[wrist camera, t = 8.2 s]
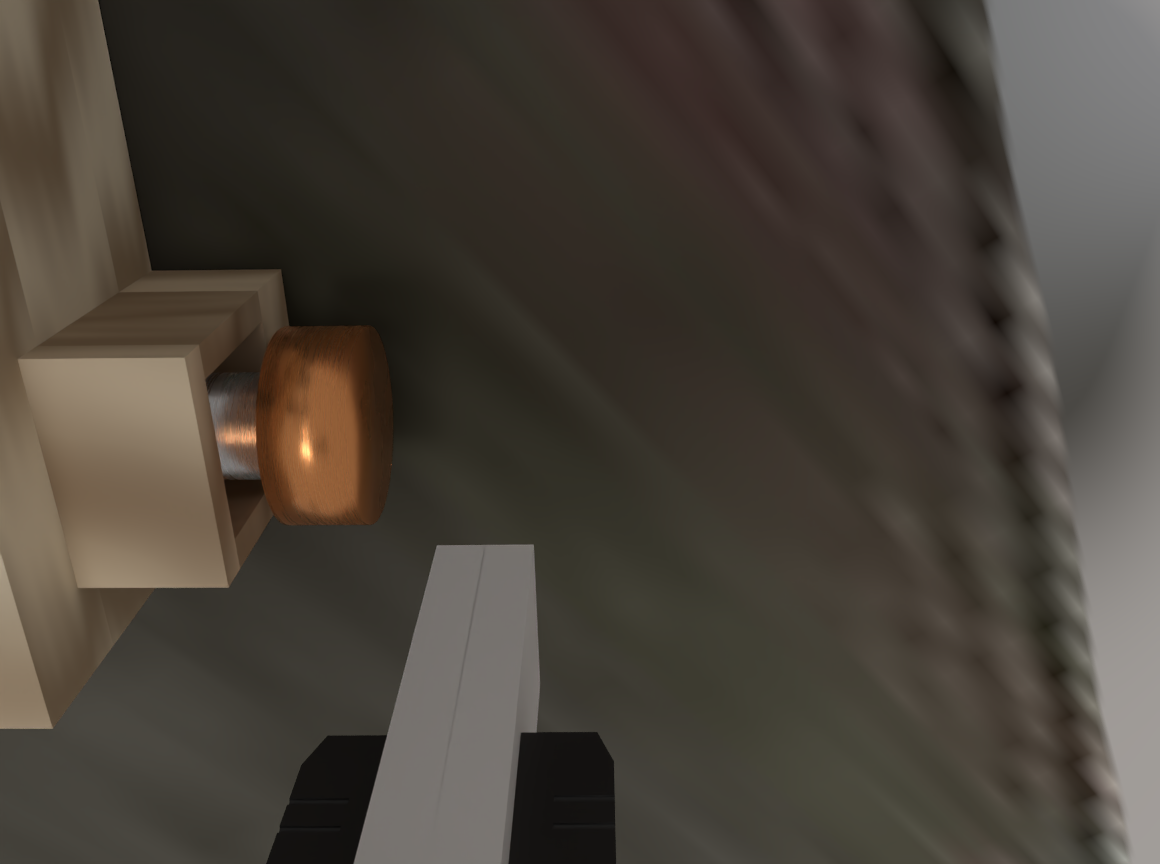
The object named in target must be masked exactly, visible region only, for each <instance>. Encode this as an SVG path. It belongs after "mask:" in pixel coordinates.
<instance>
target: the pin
mask: <svg viewBox="0 0 1160 864" xmlns="http://www.w3.org/2000/svg"><path fill="white" fill-rule="evenodd" d="M205 381H206V386H207V392H208V397H209V403H210V408H211V413H212V419H213V424H214V430H215V435H216V441H217V446H218V451H219V457H220V462H221V468H222V473H223V479H224V480H260V479H261V481H262V485H263V489H264V493H265V496H266V499H267V502H268V504H269V506H270V509H271V511H272V512H273V514H274V516H275V517H276V518H277V519H278V520H279V522H281V523H283V524H285V525H372V524H374V523H375V522H377V520H378V519H379V517H380V515H381V513H382V511H383V508H384V505H385V501H386V498H387V493H388V488H389V482H390V475H391V466H392V453H393V404H392V391H391V382H390V374H389V368H388V363H387V358H386V354H385V350H384V346H383V343H382V341H381V338H380V336H379V334H378V332H377V331H376V329H375V328H374V327H372V326H284V327H282V328H280V329H279V330H277V331H276V332H275V334H274V335H273V336H272V338H271V340H270V342H269V344H268V346H267V349H266V352H265V355H264V358H263V362H262V366H261V370H260V372H236V373H211V374H210V375H209V376H208V377H207V378H206V379H205Z"/></svg>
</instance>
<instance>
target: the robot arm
mask: <svg viewBox="0 0 1160 864" xmlns="http://www.w3.org/2000/svg"><path fill="white" fill-rule="evenodd" d="M539 691H540V673H539V651H538V628H537V606H536V584H535V561H534V545H437V547H436V551H435V555H434V559H433V562H432V566H431V570H430V574H429V578H428V582H427V585H426V589H425V593H424V597H423V601H422V604H421V608H420V612H419V616H418V620H417V624H416V627H415V631H414V635H413V639H412V643H411V646H410V650H409V654H408V658H407V662H406V666H405V669H404V673H403V677H402V681H401V685H400V688H399V692H398V696H397V700H396V704H395V708H394V711H393V715H392V719H391V723H390V727H389V731H388V734H387V735H381V736H327V737H326V738H325V739H324V740H323V742H322V743H321V744H320V745H319V746H318V747H317V748H316V749H315V750H314V752H313V753H312V754H311V755H310V756H309V757H308V758H307V759H306V761H305V762H304V763H303V764H302V765H301V768H300V771H299V773H298V776H297V779H296V782H295V785H294V787H293V790H292V793H291V796H290V803H289V805H287V807H286V810H285V813H284V816H283V818H282V821H281V824H280V831H279V833H277V835H276V838H275V841H274V844H273V846H272V849H271V852H270V855H269V858H268V860H267V863H266V864H616V840H615V795H614V761H613V759H612V757H611V756H610V754H609V752H608V750H607V749H606V747H605V745H604V743H603V742H602V740H601V738H600V736H599V735H598V733H597V732H536V731H537V718H538V704H539Z"/></svg>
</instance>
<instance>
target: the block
mask: <svg viewBox="0 0 1160 864" xmlns="http://www.w3.org/2000/svg"><path fill="white" fill-rule="evenodd" d="M284 326H289V321H288V314H287V307H286V300H285V293H284V286H283V279H282V272H281V269H258V270H169V271H152V270H151V264H150V259H149V254H148V249H147V244H146V239H145V234H144V229H143V224H142V219H141V214H140V209H139V204H138V199H137V194H136V189H135V184H134V179H133V174H132V169H131V164H130V159H129V153H128V148H127V143H126V138H125V133H124V128H123V123H122V118H121V113H120V108H119V103H118V98H117V93H116V88H115V83H114V78H113V73H112V68H111V63H110V58H109V53H108V48H107V43H106V37H105V32H104V27H103V22H102V17H101V12H100V7H99V2H98V0H0V729H53V728H54V726H55V725H56V723H57V722H58V721H59V719H60V718H61V717H62V715H63V714H64V712H65V711H66V710H67V708H68V707H69V706H70V704H71V703H72V702H73V700H74V699H75V697H76V696H77V695H78V693H79V692H80V691H81V689H82V688H83V686H84V685H85V684H86V682H87V681H88V680H89V678H90V677H91V676H92V674H93V673H94V671H95V670H96V669H97V667H98V666H99V665H100V663H101V662H102V660H103V659H104V658H105V656H106V655H107V654H108V652H109V651H110V649H111V648H112V647H113V645H114V644H115V643H116V641H117V640H118V639H119V637H120V636H121V634H122V633H123V632H124V630H125V629H126V628H127V626H128V625H129V623H130V622H131V621H132V619H133V618H134V617H135V615H136V614H137V613H138V611H139V610H140V608H141V607H142V606H143V604H144V603H145V602H146V600H147V599H148V597H149V596H150V595H151V593H152V592H153V591H154V589H155V588H229V586H230V585H231V583H232V581H233V580H234V578H235V576H236V575H237V573H238V571H239V570H240V568H241V567H242V565H243V563H244V562H245V560H246V558H247V557H248V555H249V553H250V552H251V550H252V549H253V547H254V545H255V544H256V542H257V540H258V539H259V537H260V535H261V534H262V532H263V531H264V529H265V527H266V526H267V524H268V522H269V521H270V519H271V518H272V516H273V512H272V511H271V509H270V506H269V504H268V502H267V499H266V496H265V493H264V489H263V485H262V481H261V479H260V480H224V479H223V473H222V468H221V462H220V457H219V451H218V446H217V441H216V435H215V430H214V424H213V419H212V413H211V408H210V403H209V397H208V392H207V386H206V381H205V379H206V378H207V377H208V376H209V375H210V374H211V373H236V372H260V370H261V366H262V362H263V358H264V355H265V352H266V349H267V346H268V344H269V342H270V340H271V338H272V336H273V335H274V334H275V332H276V331H277V330H279V329H280V328H282V327H284Z"/></svg>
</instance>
